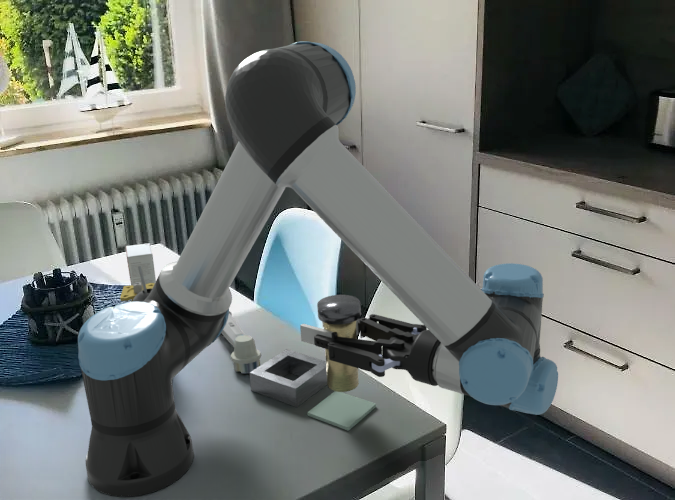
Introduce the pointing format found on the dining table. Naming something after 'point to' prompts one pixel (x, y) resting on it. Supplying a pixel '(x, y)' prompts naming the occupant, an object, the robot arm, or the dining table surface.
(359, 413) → the mat
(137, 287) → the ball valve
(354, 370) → the tan and grey cylinder
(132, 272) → the small box
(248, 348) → the white handheld tool
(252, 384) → the box
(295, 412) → the dining table surface
